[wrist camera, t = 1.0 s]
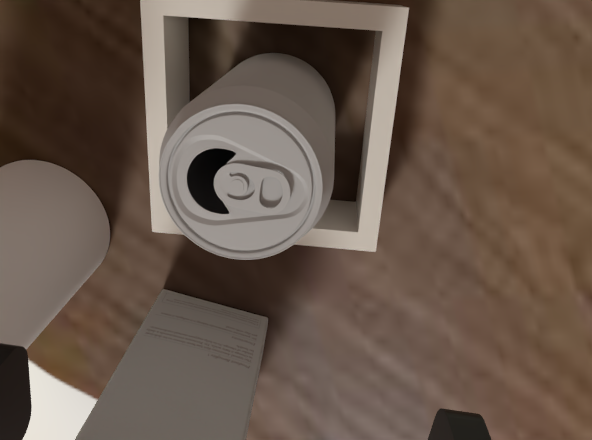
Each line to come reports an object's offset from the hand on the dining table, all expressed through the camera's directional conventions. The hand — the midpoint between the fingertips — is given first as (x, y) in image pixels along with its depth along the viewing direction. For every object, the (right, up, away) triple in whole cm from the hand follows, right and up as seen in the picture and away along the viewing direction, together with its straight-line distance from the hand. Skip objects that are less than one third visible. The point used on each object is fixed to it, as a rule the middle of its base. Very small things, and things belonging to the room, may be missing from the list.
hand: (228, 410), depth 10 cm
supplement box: (-5, -5, +25) cm, 26 cm away
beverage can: (0, +10, +19) cm, 21 cm away
